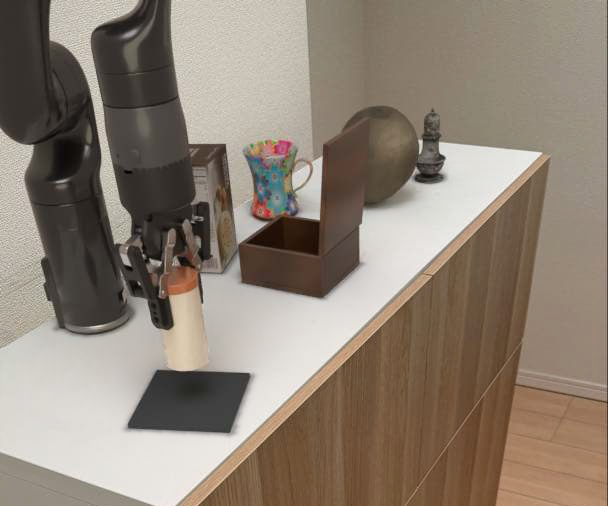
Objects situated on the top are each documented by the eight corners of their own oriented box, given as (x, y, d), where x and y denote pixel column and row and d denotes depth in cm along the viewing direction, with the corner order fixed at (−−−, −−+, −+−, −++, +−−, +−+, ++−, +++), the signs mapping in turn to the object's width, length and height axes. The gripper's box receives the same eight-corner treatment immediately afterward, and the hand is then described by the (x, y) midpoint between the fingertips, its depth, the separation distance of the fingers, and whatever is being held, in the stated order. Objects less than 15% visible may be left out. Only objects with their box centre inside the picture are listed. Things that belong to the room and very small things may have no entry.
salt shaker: (408, 175, 146) (410, 105, 138) (436, 171, 147) (441, 101, 139) (420, 185, 142) (424, 113, 134) (449, 180, 143) (455, 109, 135)
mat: (128, 428, 89) (127, 423, 89) (157, 373, 98) (156, 369, 97) (229, 432, 87) (229, 428, 87) (250, 376, 96) (249, 372, 95)
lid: (322, 143, 96) (328, 145, 96) (365, 116, 104) (370, 117, 104) (318, 255, 106) (323, 256, 106) (357, 222, 114) (362, 223, 114)
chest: (241, 282, 116) (237, 244, 112) (282, 250, 124) (280, 213, 120) (322, 298, 111) (320, 258, 107) (359, 264, 119) (359, 226, 115)
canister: (160, 371, 87) (142, 286, 80) (172, 348, 91) (156, 265, 84) (204, 372, 86) (191, 286, 80) (215, 349, 90) (202, 265, 83)
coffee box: (201, 248, 126) (186, 142, 115) (238, 249, 125) (227, 142, 114) (183, 272, 119) (166, 162, 108) (223, 274, 118) (209, 162, 107)
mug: (240, 221, 134) (234, 155, 126) (259, 201, 140) (254, 138, 133) (306, 226, 131) (303, 159, 123) (322, 206, 137) (320, 141, 130)
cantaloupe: (340, 219, 132) (339, 123, 122) (332, 190, 142) (330, 100, 132) (422, 212, 132) (428, 116, 122) (408, 185, 143) (412, 94, 133)
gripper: (161, 126, 79) (187, 284, 91) (70, 171, 70) (112, 339, 82) (223, 132, 77) (242, 294, 88) (136, 180, 68) (170, 353, 79)
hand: (179, 315), depth 85 cm, fingers closed on canister, 5 cm apart
